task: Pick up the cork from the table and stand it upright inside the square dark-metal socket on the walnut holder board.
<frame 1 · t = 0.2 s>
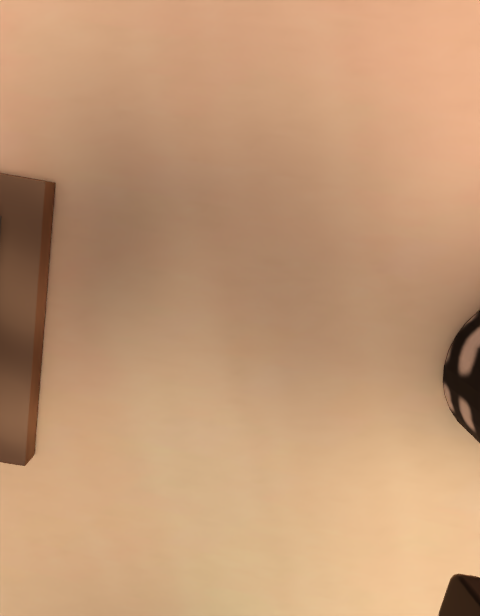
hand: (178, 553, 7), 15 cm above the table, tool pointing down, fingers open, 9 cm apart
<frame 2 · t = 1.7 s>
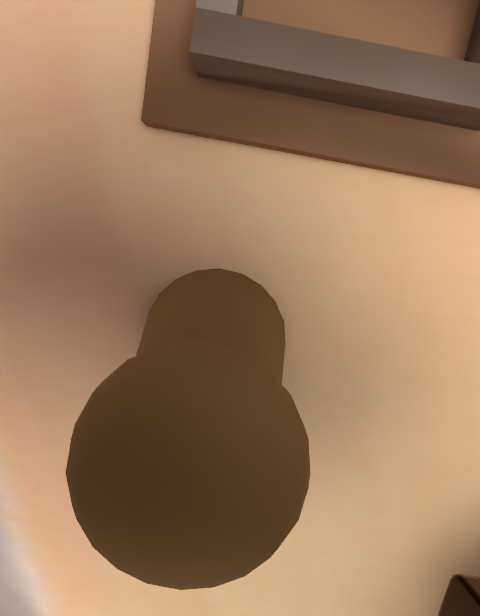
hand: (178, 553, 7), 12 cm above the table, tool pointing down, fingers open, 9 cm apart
cork: (215, 336, 19), on the table
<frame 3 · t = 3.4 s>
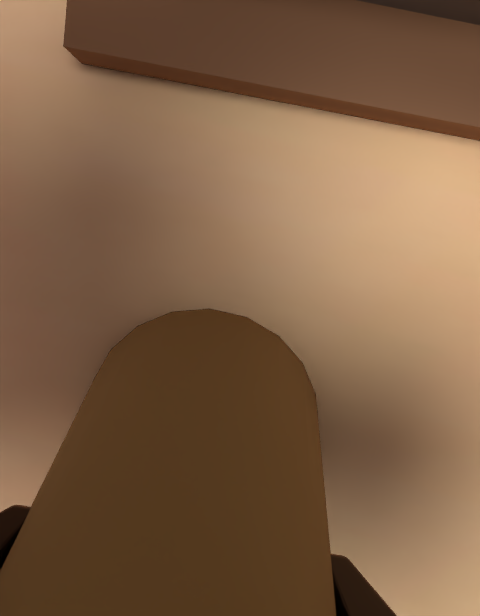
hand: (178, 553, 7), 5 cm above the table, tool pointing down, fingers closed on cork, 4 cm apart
cork: (203, 416, 12), on the table, touching gripper
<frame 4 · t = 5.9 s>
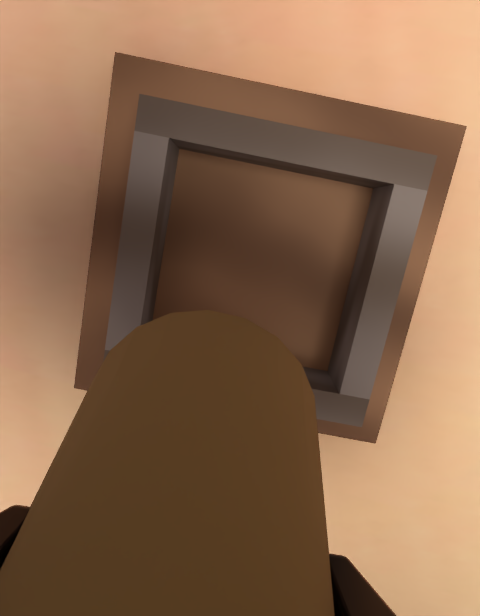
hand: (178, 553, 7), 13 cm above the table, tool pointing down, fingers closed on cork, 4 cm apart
shaker holder: (256, 263, 19), on the table
cork: (202, 417, 12), point 9 cm above the table, touching gripper
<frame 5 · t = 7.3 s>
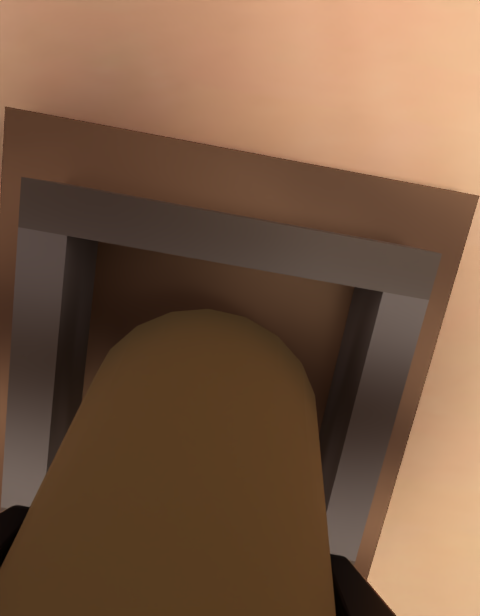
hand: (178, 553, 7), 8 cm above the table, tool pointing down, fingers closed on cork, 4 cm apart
shaker holder: (210, 364, 15), on the table
cork: (203, 416, 12), point 4 cm above the table, touching gripper
when the fingers open (7 cm above the table, at t = 8.4 s): cork drops 1 cm, resting on shaker holder.
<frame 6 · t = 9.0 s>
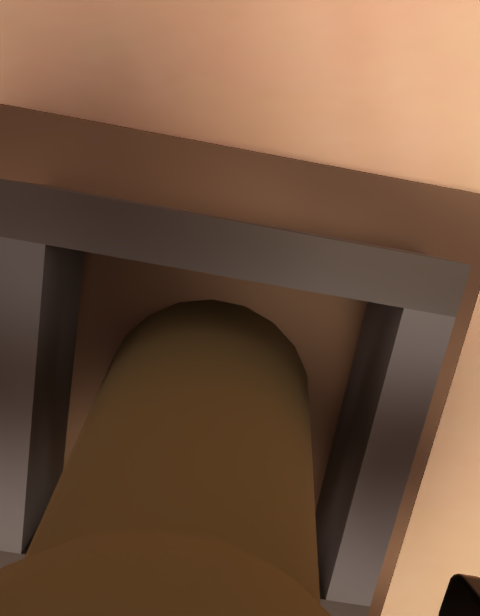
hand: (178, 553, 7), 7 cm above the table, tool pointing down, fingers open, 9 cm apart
shaker holder: (209, 382, 14), on the table
cork: (208, 396, 13), point 1 cm above the table, touching shaker holder
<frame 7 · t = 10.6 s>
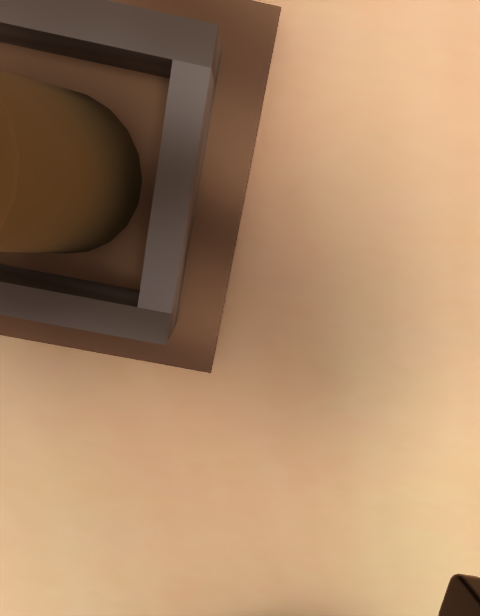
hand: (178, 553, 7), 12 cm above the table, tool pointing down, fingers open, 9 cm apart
shaker holder: (72, 173, 17), on the table
cork: (65, 174, 17), point 1 cm above the table, touching shaker holder
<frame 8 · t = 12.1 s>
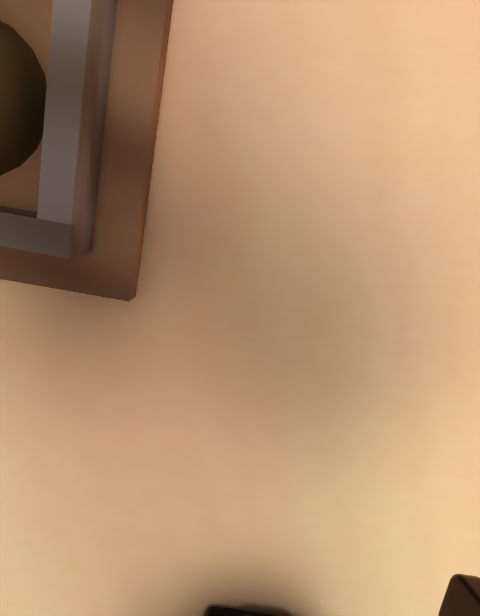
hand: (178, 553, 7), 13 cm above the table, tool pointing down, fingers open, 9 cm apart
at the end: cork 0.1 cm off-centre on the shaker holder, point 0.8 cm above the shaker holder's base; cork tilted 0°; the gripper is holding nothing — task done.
